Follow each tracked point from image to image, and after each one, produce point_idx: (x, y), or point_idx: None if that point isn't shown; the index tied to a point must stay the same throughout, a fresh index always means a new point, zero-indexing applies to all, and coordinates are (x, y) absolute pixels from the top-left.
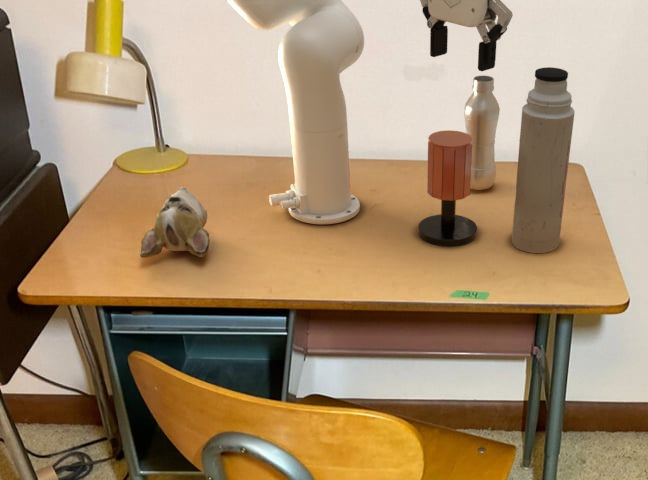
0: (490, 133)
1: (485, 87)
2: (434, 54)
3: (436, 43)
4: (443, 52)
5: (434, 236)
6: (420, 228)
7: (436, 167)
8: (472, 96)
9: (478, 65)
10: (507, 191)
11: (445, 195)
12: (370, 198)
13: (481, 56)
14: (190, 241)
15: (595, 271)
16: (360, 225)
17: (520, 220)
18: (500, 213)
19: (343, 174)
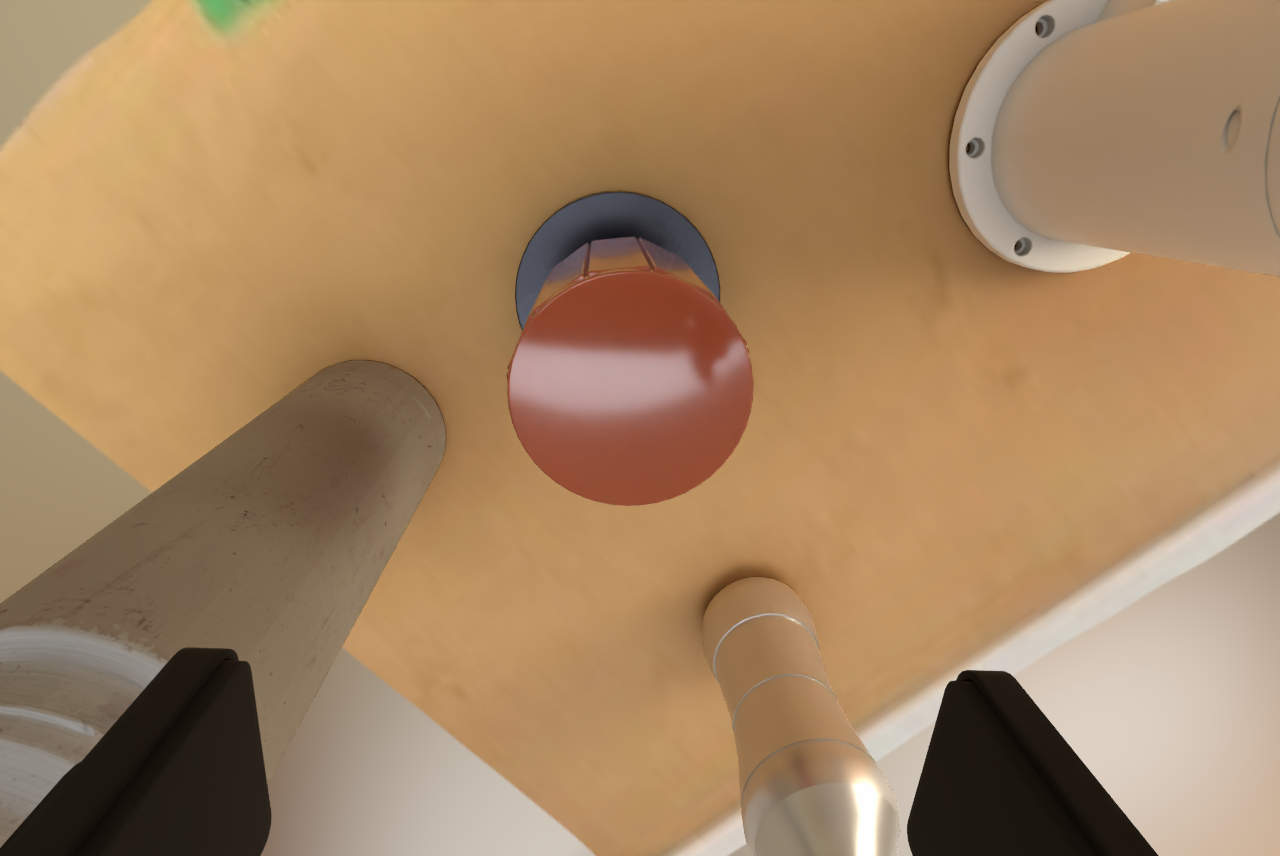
0: (740, 743)
1: None
2: (961, 695)
3: (1020, 823)
4: (924, 808)
5: (604, 206)
6: (681, 222)
7: (622, 253)
8: (869, 842)
9: (199, 680)
10: (661, 641)
11: (576, 252)
12: (987, 325)
13: (66, 779)
14: None
15: (108, 400)
16: (893, 132)
17: (342, 391)
18: (582, 516)
19: (1081, 143)
